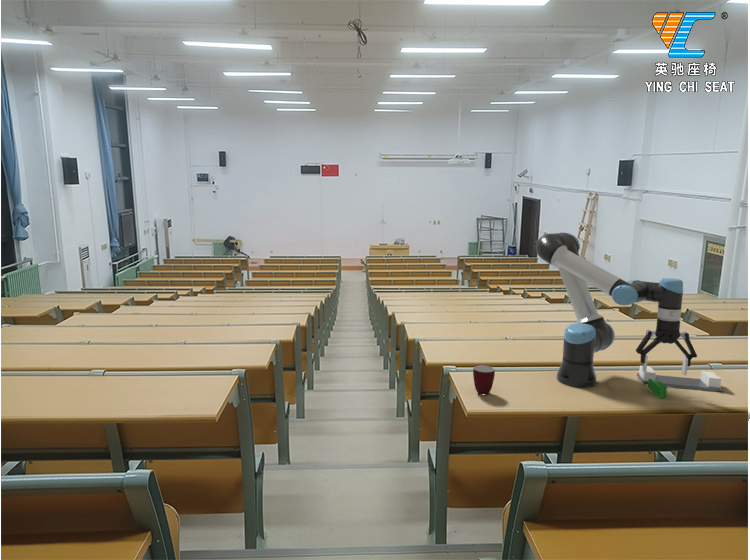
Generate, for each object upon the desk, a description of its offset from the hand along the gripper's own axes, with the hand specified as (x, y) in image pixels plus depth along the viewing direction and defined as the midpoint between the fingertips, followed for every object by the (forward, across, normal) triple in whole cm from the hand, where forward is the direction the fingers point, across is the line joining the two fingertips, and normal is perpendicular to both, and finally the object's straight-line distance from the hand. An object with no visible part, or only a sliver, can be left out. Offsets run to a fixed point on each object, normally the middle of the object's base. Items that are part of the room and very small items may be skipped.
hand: (664, 372), depth 181 cm
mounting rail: (+9, +10, +14) cm, 19 cm away
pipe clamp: (+9, -1, 0) cm, 9 cm away
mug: (+8, -68, -18) cm, 71 cm away
